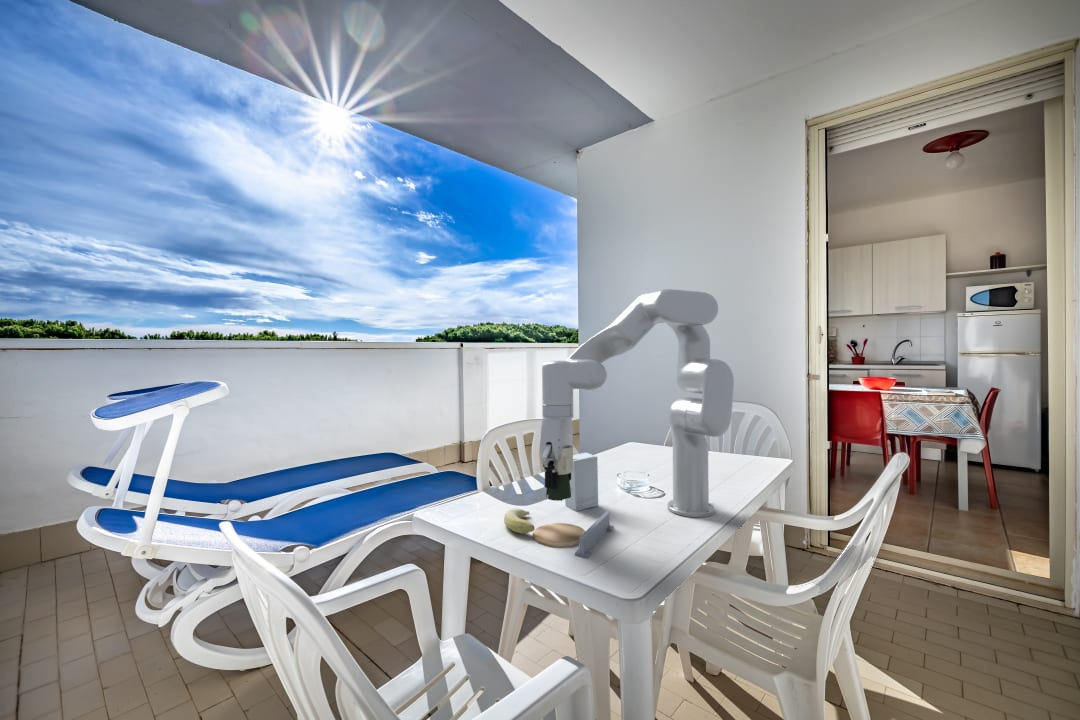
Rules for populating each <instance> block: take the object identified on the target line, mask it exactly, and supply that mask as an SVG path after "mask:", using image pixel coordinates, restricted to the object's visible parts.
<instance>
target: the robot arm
mask: <svg viewBox="0 0 1080 720" xmlns="http://www.w3.org/2000/svg"><path fill="white" fill-rule="evenodd" d="M718 312H719V303H718V302H717V300H716V298H715V297H714V296H713V295H712V294H710V293H708V292H706V291H694V290H683V289H673V288H671V289H670V288H664V289H658V290H654V291H649V292H645V293H642V294H640V295H639V296H637V297H636V298H635V299H634V300H633V301H632V302H631V303H630V304H629V305H628V306H627V307H626V308H625V309H624V310H623V311H622V313H620V314H619V315H617V317H616V318H615V319H614V320H613V321H612V322H611V323H610V324H609V325H608V326H607V327H605V328H604V329H602V330H601V331H599V332H598V333H596V334H595V335H594V336H592V337H591V338H589V339H588V340H586V341H585V342H584V343H582V344H580V346H579V347H578V348H577V349H575V350H574V351H573V352H572V354H571V355H569V357H567V358H566V360H547V361H545V362H544V363H543V364H542V367H541V374H542V375H541V377H542V378H541V379H542V380H541V381H542V384H541V385H542V387H541V388H542V394H541V397H542V398H541V399H542V403H541V404H542V411H541V412H542V421H541V428H540V437H539V438H540V440H539V441H540V443H539V457H540V460H541V463H542V466H543V472H544V487H545V488H546V489H547V488H550V489H557V488H558V472H556V470H557V465H558V461H559V460H560V459H561V455H562V449H563V448H569V447H570V445H572V446H573V447H574V430H573V429H574V428H573V418H574V390H585V391H594V390H597V389H599V388H601V387H602V386H603V385H604V384H605V383H606V381H607V378H608V372H607V369H606V368H605V366H604V365H603V364H602V363H604V362H605V361H607V360H610V359H612V358H614V357H617V356H620V355H623V354H625V353H628V352H629V351H630V350H633V348H635V347H636V346H637V345H638V343H640V341H642V339H643V338H645V336H646V335H647V334H648V333H649V332H650V331H651V330H652V329H653V328H654V327H655V326H656V325H658V324H665V323H666V324H667V325H668V326H669V327H670V328H671V329H672V331H673V332H674V334H675V335H676V337H677V341H678V342H677V343H678V352H677V365H676V367H677V369H676V383H677V386H678V387H679V389H680V390H682V391H684V392H688V393H691V394H700V395H701V394H702V398H699V397H691V396H685V397H680V398H677V399H675V400H674V401H673V402H672V403H671V405H670V407H669V409H668V420H669V421H668V422H669V427H670V431H671V438H672V439H671V440H672V499H671V500H669V501H668V502H667V509H668V510H669V511H670V512H671V513H673V514H676V515H679V516H683V517H689V518H704V517H706V518H707V517H710V516H712V515H714V514H715V511H716V510H715V509H716V508H715V506H714V505H713V504H712V503H710V501H709V500H710V499H709V496H710V495H709V445H708V440H707V439H706V438H707V437H712V438H713V437H714V438H716V437H721V436H724V434H725V433H726V432H727V431H728V430H729V428H730V425H731V421H732V412H733V399H734V387H735V385H734V373H733V370H732V369H731V367H730V365H729V364H728V363H727V362H725V361H723V360H721V359H718V358H717V359H715V358H711V339H710V335H709V332H708V331H707V330H706V328H705V325H708V324H710V323H712V322H713V321H714V320H715V319H716V318H717V315H718ZM706 436H707V437H706ZM551 452H553V454H554V455H555V458H549V456H550V454H551ZM551 462H554V464H553V465H552V464H551ZM567 475H568V476H569V481H570V480H571V473H569V474H567Z"/></svg>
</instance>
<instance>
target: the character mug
mask: <svg viewBox="0 0 1080 720" xmlns="http://www.w3.org/2000/svg"><path fill="white" fill-rule="evenodd" d="M573 455H574V445H573V446H572V445H570V447H569V448H563V449H562V455H561V459H560V460H559V461H558V465H557V470H556V472H558V488H557V489H550V488H546V493H545V498H547V500H550V501H554V502H555V501H556V502H559V501H560V502H562V501H565V499H568V498H570V497H571V488H570V481H569V476H568V475H567V474H569V473H571V472H572V471H573ZM549 458H555V455H554V454H553V452H551V454H550V456H549ZM551 464H552V465H553V464H554V462H551Z"/></svg>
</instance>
